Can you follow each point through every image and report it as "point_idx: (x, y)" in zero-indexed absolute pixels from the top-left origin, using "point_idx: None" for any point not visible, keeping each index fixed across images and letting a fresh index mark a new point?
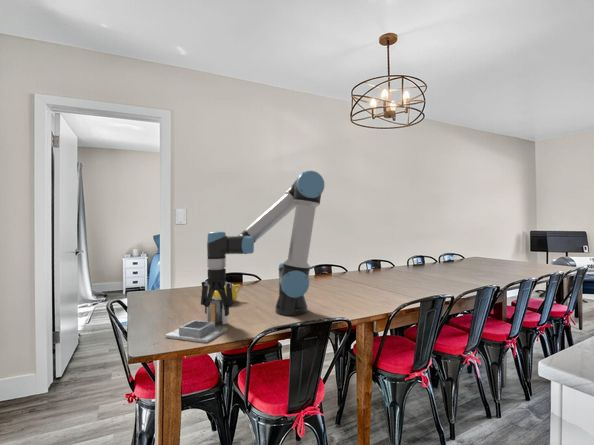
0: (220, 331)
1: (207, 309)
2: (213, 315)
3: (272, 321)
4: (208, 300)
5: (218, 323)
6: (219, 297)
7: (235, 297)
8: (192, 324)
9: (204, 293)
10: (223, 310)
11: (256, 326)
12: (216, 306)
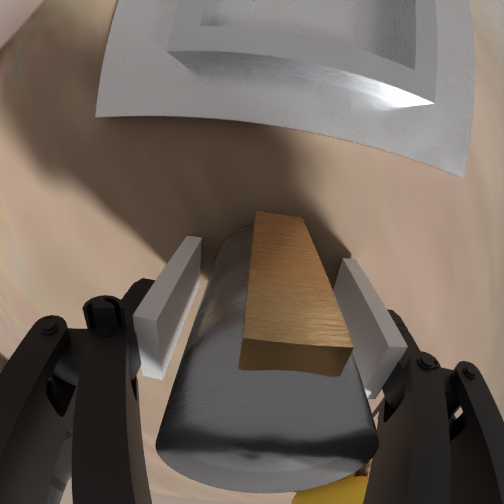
0: (114, 28)
1: (387, 328)
2: (274, 238)
3: (12, 318)
4: (413, 423)
5: (235, 234)
6: (355, 492)
7: (294, 501)
8: (405, 41)
9: (491, 487)
10: (149, 303)
11: (13, 240)
12: (236, 331)
